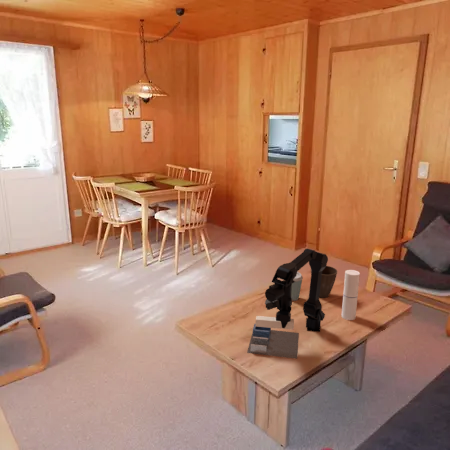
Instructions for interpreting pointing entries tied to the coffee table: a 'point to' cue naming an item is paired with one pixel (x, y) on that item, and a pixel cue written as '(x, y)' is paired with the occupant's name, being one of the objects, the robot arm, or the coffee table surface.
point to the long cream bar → (272, 323)
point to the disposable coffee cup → (296, 287)
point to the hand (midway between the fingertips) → (283, 325)
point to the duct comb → (273, 342)
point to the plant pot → (327, 281)
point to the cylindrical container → (350, 294)
